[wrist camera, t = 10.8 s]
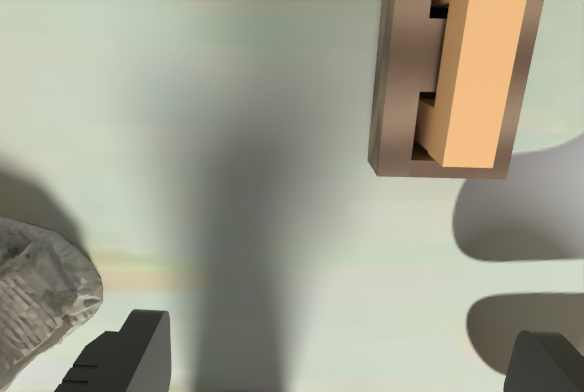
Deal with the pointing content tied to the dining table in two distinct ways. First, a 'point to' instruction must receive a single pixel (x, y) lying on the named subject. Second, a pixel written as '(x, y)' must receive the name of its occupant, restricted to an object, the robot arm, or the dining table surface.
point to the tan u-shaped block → (471, 82)
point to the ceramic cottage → (40, 293)
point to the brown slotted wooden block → (424, 78)
